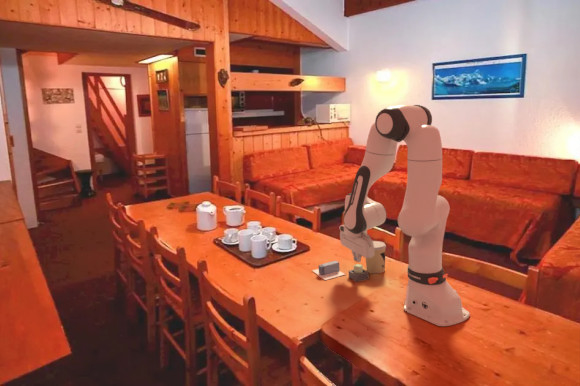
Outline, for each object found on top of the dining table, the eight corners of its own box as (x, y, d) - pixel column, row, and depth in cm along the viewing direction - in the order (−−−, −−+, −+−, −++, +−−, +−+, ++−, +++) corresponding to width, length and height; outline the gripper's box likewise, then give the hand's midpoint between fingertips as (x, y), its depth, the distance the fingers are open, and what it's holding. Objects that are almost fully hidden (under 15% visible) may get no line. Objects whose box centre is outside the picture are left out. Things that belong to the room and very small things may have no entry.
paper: (345, 274, 175) (345, 274, 175) (325, 280, 171) (325, 279, 171) (331, 266, 185) (331, 265, 185) (312, 271, 182) (312, 270, 181)
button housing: (368, 278, 169) (368, 272, 168) (356, 282, 167) (356, 275, 166) (360, 274, 174) (360, 267, 174) (348, 277, 172) (348, 270, 171)
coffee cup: (386, 274, 172) (386, 247, 170) (364, 274, 174) (363, 247, 172) (386, 265, 181) (385, 240, 178) (365, 265, 183) (364, 240, 180)
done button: (364, 275, 169) (364, 266, 168) (357, 277, 168) (356, 268, 167) (359, 272, 173) (359, 263, 172) (352, 274, 171) (351, 265, 170)
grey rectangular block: (336, 268, 181) (335, 260, 180) (339, 270, 179) (339, 262, 178) (318, 273, 178) (318, 265, 177) (321, 275, 175) (321, 267, 174)
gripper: (377, 235, 158) (378, 267, 161) (349, 222, 176) (350, 252, 179) (364, 238, 156) (365, 271, 159) (337, 225, 174) (338, 255, 177)
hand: (357, 261), depth 169 cm, fingers closed
